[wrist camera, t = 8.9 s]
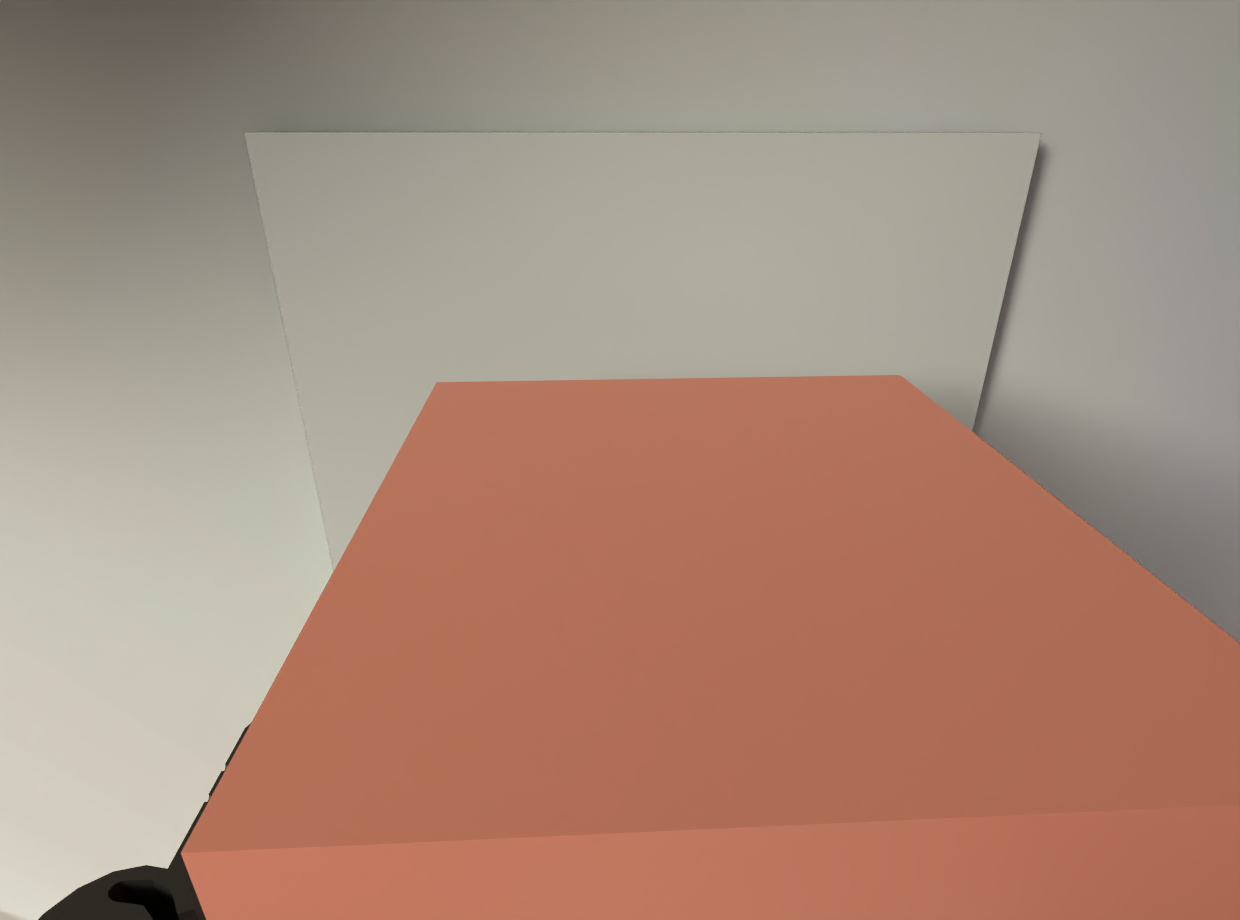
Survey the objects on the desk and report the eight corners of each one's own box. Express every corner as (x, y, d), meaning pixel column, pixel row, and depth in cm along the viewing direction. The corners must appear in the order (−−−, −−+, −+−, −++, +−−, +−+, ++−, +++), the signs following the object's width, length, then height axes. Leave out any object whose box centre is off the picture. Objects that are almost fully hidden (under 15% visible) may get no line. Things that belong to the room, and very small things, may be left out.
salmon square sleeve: (476, 733, 14) (373, 1350, 7) (436, 382, 11) (179, 851, 4) (840, 719, 15) (1091, 1295, 8) (901, 374, 12) (1434, 796, 4)
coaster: (373, 719, 19) (367, 737, 18) (257, 131, 13) (244, 132, 12) (897, 699, 20) (906, 715, 19) (1023, 132, 13) (1041, 133, 13)
